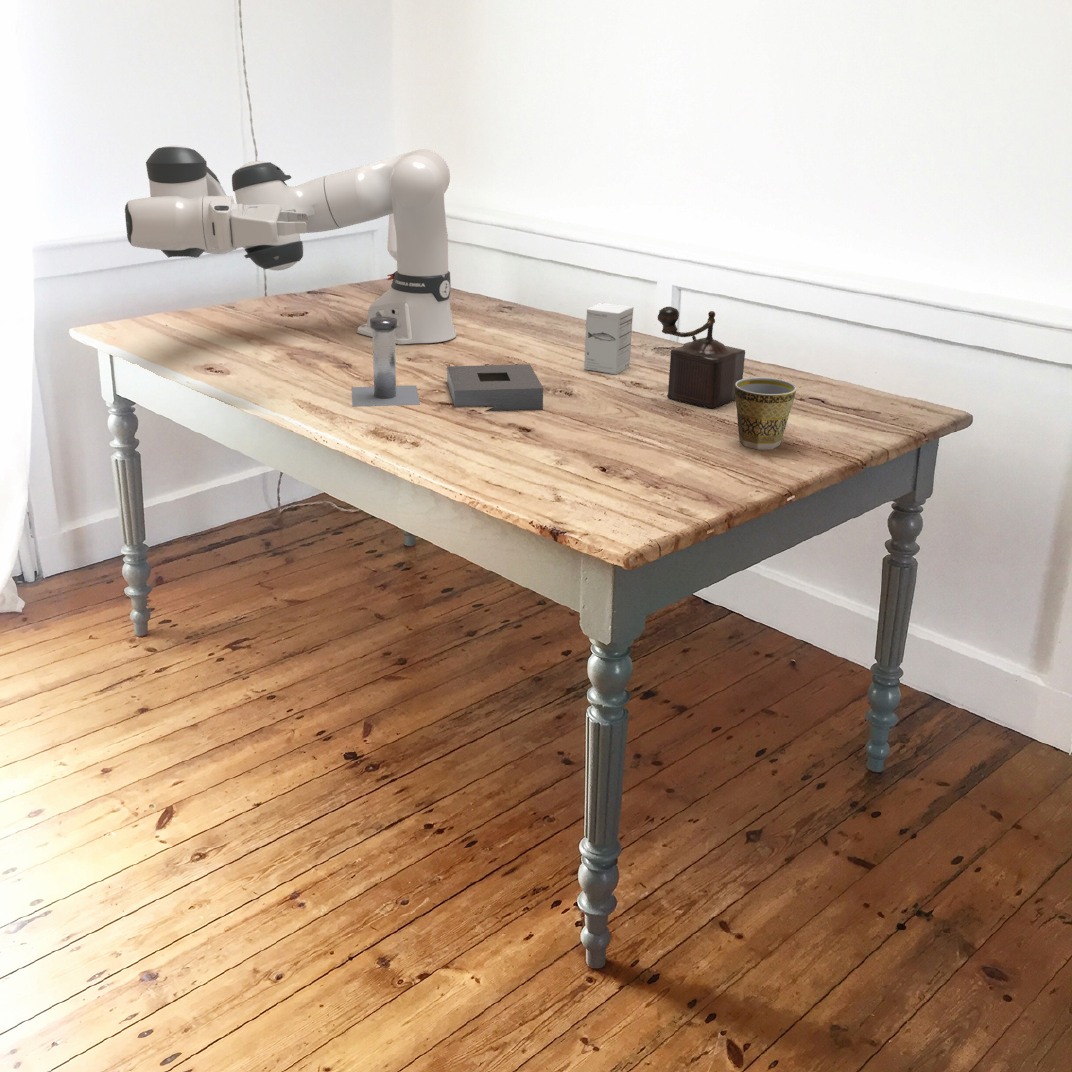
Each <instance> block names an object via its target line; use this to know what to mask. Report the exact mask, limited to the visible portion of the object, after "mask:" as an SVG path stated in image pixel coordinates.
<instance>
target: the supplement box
mask: <svg viewBox="0 0 1072 1072" xmlns="http://www.w3.org/2000/svg"><path fill="white" fill-rule="evenodd" d="M633 317H634V306H629V305H622V304H615V303H608V302H599V303H596V304H594V305H592V306H590V307H588V308H587V309H586V321H585V342H584V345H585V346H584V363H583V364H584V365H583V369H584V371H592V372H593V371H595V372H600V373H606V374H611V375H614V376H615V375H618V374H620V373H621V372H623V371H625V370H627V369H628V368H630V363H631V361H630V360H631V351H632V350H631V348H632V347H631V346H632V333H633V320H634V319H633Z"/></svg>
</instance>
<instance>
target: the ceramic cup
mask: <svg viewBox="0 0 1072 1072" xmlns="http://www.w3.org/2000/svg"><path fill="white" fill-rule="evenodd" d="M796 392H797V386H795V385H794V384H793V383H791V382H789V381H785V380H783V379H778V378H771V377H747V378H743V379H742V380H739V381H737V382H736V383H735V401H734V402H735V406H736V417H737V427H738V428H737V430H738V431H737V432H738V439H739V442H740V443H741V444H742V445H743V446H744V447H745V448H749V449H754V450H759V451H761V450H766V451H767V450H775V448H777V447H779V446H780V445H781V442H782V439H783V437H784V433H785V431H786V427H787V423H788V420H789V415H790V413H791V410H792V408H793V404H794V400H795V397H796Z"/></svg>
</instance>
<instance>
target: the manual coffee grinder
mask: <svg viewBox="0 0 1072 1072" xmlns="http://www.w3.org/2000/svg"><path fill="white" fill-rule="evenodd" d="M707 315H708V318H707V321H706V323H705V324H703V325H702V326H701V327H699V328H698V327H697V328H696V329H695V330H692V331H688V332H687V331H686V332H684V331H683V332H680V331H678V327H677V325H676V323H677V321H678V320H679V317H680V312H679V310H678V309H677V308H676V307H673V306H665V307H663V308H661V309H659V312H658V315H657V320H658V322H659V323H660V324H661V325H662V330H661V333H663V334H665V335H671V336H674V337H675V336H676V337H679V338H690V337H691V338H692V341H688V342H686V343H683V345H682V346H680V347H679V346H678V347H675V348H673V349H671V350H670V360H669V374H668V375H669V376H668V387H667V388H668V389H667V395H666V398H669V399H671V400H674V401H677V402H680V403H683V404H686V405H691V406H695V407H698V408H699V407H700V408H704V409H709V410H714V409H719V408H721V407H724V406H726V405H728V404H730V403H733V402H736V401H735V383H736V382H737V381H739V380H742V379H744V378H743V377H744V367H745V357H746V350H745V349H742V348H739V347H738V348H736V347H733V346H728V345H725V344H724V343H723V342H720V341H719V340H716V339H714V337H713V329H714V324H716V319H715V317H716V312H715V311H713V310H710V311H708V314H707ZM706 330H707V334H706V337H701V338H697V337H696V336H697V335H699V334H700V333H702V332H704V331H706ZM732 401H733V402H732Z"/></svg>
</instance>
